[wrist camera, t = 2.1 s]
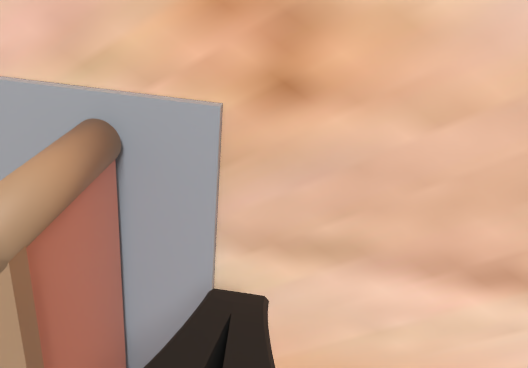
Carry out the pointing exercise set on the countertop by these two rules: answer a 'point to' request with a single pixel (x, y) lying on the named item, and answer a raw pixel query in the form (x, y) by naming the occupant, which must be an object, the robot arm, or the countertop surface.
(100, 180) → the fence gate
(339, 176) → the countertop surface
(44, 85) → the card
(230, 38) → the countertop surface
